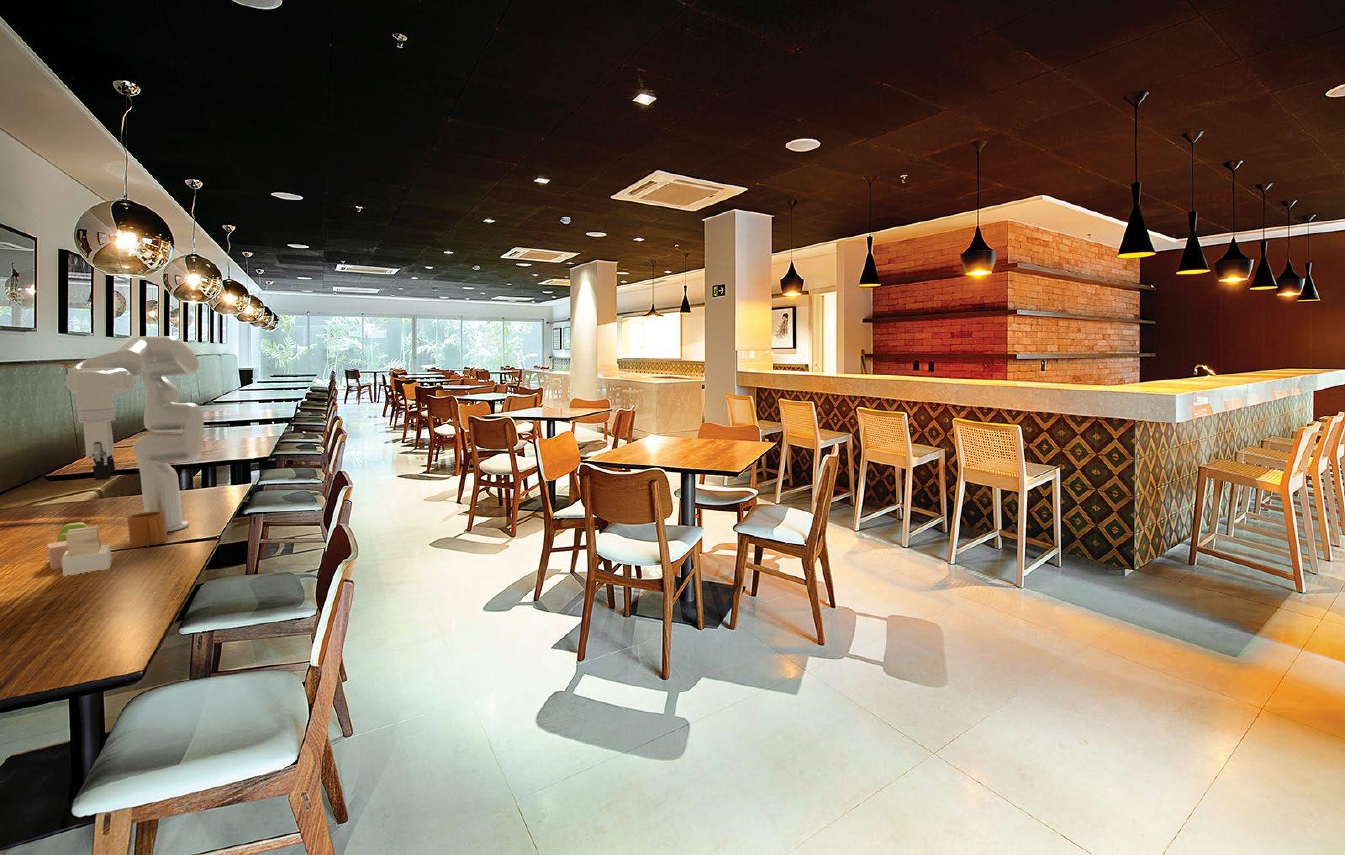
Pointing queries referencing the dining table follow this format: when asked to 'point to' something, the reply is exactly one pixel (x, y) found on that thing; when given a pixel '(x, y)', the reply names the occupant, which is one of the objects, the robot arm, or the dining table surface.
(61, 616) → the dining table surface
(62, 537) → the dumbbell
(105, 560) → the base block
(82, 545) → the maple cube
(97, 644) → the dining table surface
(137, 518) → the mug
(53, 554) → the pink cube
